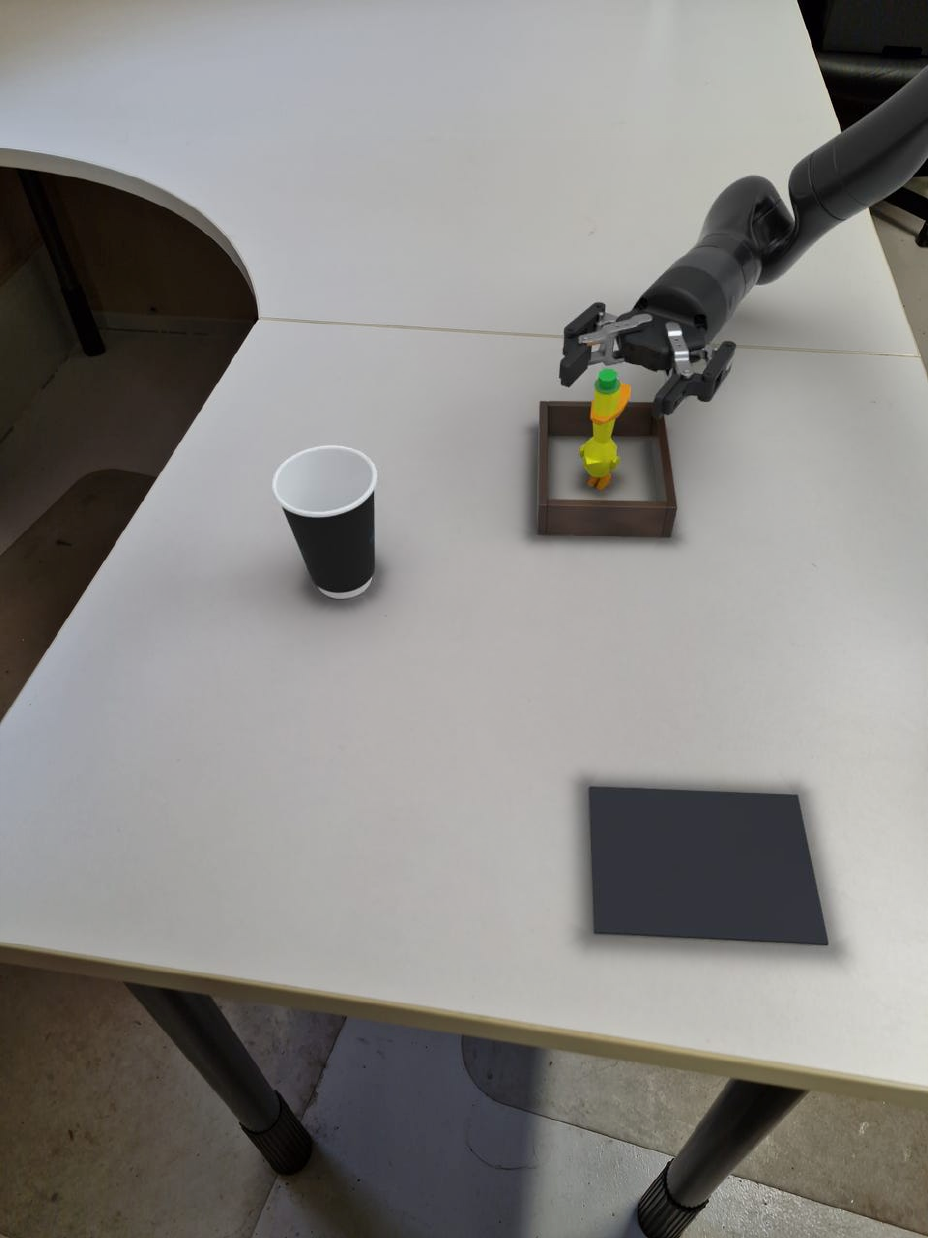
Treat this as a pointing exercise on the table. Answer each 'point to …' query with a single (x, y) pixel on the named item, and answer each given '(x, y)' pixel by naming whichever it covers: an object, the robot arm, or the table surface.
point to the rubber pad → (703, 866)
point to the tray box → (605, 513)
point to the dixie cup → (331, 515)
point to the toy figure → (604, 427)
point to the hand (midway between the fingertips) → (609, 392)
